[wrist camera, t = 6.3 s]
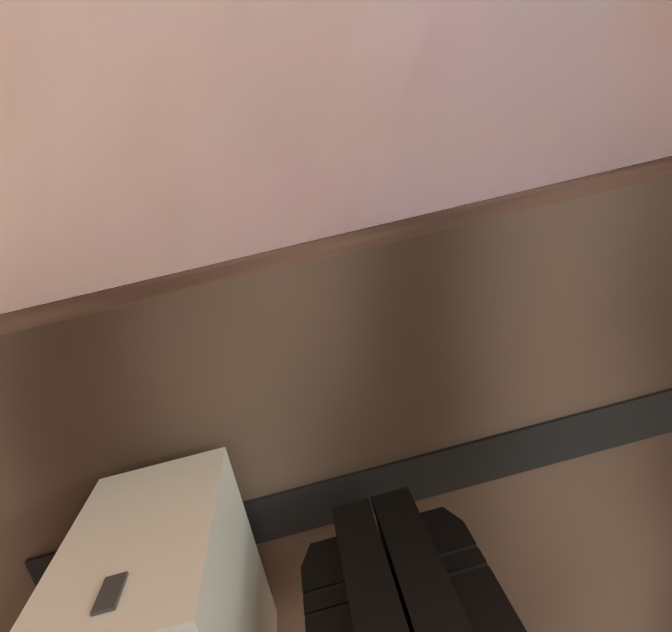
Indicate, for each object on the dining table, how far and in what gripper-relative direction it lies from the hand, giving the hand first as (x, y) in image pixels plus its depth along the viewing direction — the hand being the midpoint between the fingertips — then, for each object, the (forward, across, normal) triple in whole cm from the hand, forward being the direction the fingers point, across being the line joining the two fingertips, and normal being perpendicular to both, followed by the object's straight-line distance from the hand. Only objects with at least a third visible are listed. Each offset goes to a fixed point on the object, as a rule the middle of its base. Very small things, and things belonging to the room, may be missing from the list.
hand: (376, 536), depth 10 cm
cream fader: (+1, +4, 0) cm, 4 cm away
